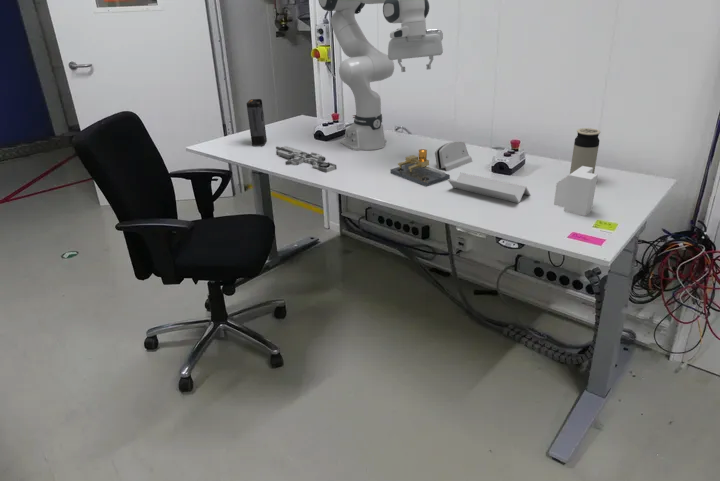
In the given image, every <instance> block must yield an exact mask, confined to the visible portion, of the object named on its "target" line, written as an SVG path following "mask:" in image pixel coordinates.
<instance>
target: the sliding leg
mask: <svg viewBox="0 0 720 481" xmlns="http://www.w3.org/2000/svg"><path fill="white" fill-rule="evenodd" d="M427 152H428V149H426V148H425V149H424V148H421V149H418V160H417V161H416V165H413V166H410V167H408V169H410V173H412V170H413V169H416V168H419V167H421V168H422V167H425V166H427V167H429V166H430V160H429V159H427V158H428V156H427V154H428V153H427Z"/></svg>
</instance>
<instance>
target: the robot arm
mask: <svg viewBox="0 0 720 481" xmlns="http://www.w3.org/2000/svg"><path fill="white" fill-rule="evenodd" d="M318 3H319V6H320V7H321V9H322V10H324V11H327V12H333V11H335V12H333V14H332V16H331V19H330V24H331V27H332V30H333V33H334V35H335V37H336V40H337V42H338V44H339V46H340V48H341V50H342V52H343V53H344V55H345V56H347V57H348V58H347V59H344V60H342V61H341V63H340V65H339V67H338V73H339V74H338V75H339V78H340V80H341V81H342V82H343V83H344V84H345V85H347V86H348V87H349V89H350V90H351V92H352V94H353V98H354V103H355V104H354V105H355V114H354V115H352V119H353V123H352V124H351V125H350V126H349V127H348V128H347V129H346V130H345V133H344V134H345V136H344V138H342V139H341V140H340V141H339V142H340V144H342V145H343V146H344V147H347V148H349V149H350V150H353V151H361V150H362V151H371V150H378V149H381V148H384V147H385V146H386V143H387V139H385V131H384V130H385V129H384V125H383V124H382V123H383V114H382V107H381V106H382V102H381V96H380V95H379V93H377V92H376V91H374V90H372V89H371V84H370V83H373V82H379V81H384V80H387V79H388V78H390V77H392V75H393V74H394V72H395V62H394V60H397V64H398V65H399V66H400V68H401V73H405V72H406V66H403V64H402V63H403V62H402V60H405V59H415V58H427V57H428V59H429V62H428V63H427V64H426V70H431V69H432V65H431V64H432V63H433V60H434V57H435V56H442V54H443V50H444V49H443V43H442V41H443V38H444V37H443V36H444V35H443V34H444V33H443V31H442V30H441V29H439V28H434V29H427V21H426V20H427V19H426V18H427V16H428V14H429V12H430V3H429V0H318ZM376 4H377V5H378V4H379V5H380V4H383V6H382V14H383V17H384V19H385V20H386V22H388V23H390V24H400V25H401V27H400V28H397V29H396V30H394V31H391V32H390V34H389V37H390V40H389V42H388V47H387V54H386V53H384V52H382V51H380V50H379V49H377V48H376V47H375V46H374V45H372V44H371V42H369V40H368V39H367V37H366V36H365V34H364V32H363V30H362V29H361V27H360V25H359V23H358V22H357V20H356V17H355V15H356V14H357V15H358V14H360V13H361V12H362V9H363V8H364V7H365V5H376Z"/></svg>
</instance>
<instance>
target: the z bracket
mask: <svg viewBox="0 0 720 481" xmlns="http://www.w3.org/2000/svg"><path fill="white" fill-rule="evenodd" d="M447 181H448V183H449V184H450V185H451V186H452V188H454V189H458V190H462V191H467V192H470V193H475V194H479V195H482V196H483V195H484V196H487V197H492V198H496V199H500V200H503V201H508V202H512V203H516V204H520V203H521V201H522V197H523V195H527V196H531V193H530V191H529V189H528V188H527V186H525V185H519V184H517V183H511V182H507V181H502V180H497V179H492V178H488V177H485V176H479V175H478V176H477V175H475V174H469V173H465V172H460V173H459V175H458V177H457V178H456V179H455V180H454V179H447Z"/></svg>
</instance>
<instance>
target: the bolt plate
mask: <svg viewBox="0 0 720 481" xmlns="http://www.w3.org/2000/svg"><path fill="white" fill-rule="evenodd" d="M417 160H419V155H418V156H417V155H415V154H412V155H409V156H406V157H405V160H403V161H401V162H398V163H397V165H398V167H394V168H391V169H390V170H389V171H390V174H392V175H394V176H397V177H401V178H402V179H405V180H407V181H410V182H414V183H415V184H419V185H420V186H424V187H429V186H432V185H434V184H438V183H441V182H443V181H446V180H447V181H448V179H450V178H451V175H450V174H449V173H446V172H444V171H441V170H440V169H437V168H432V167H429V166H425V167H422V168H421V167H419V168H416V169H413V170H412V173H410V169H408V167H410V166H413V165H416V161H417Z"/></svg>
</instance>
